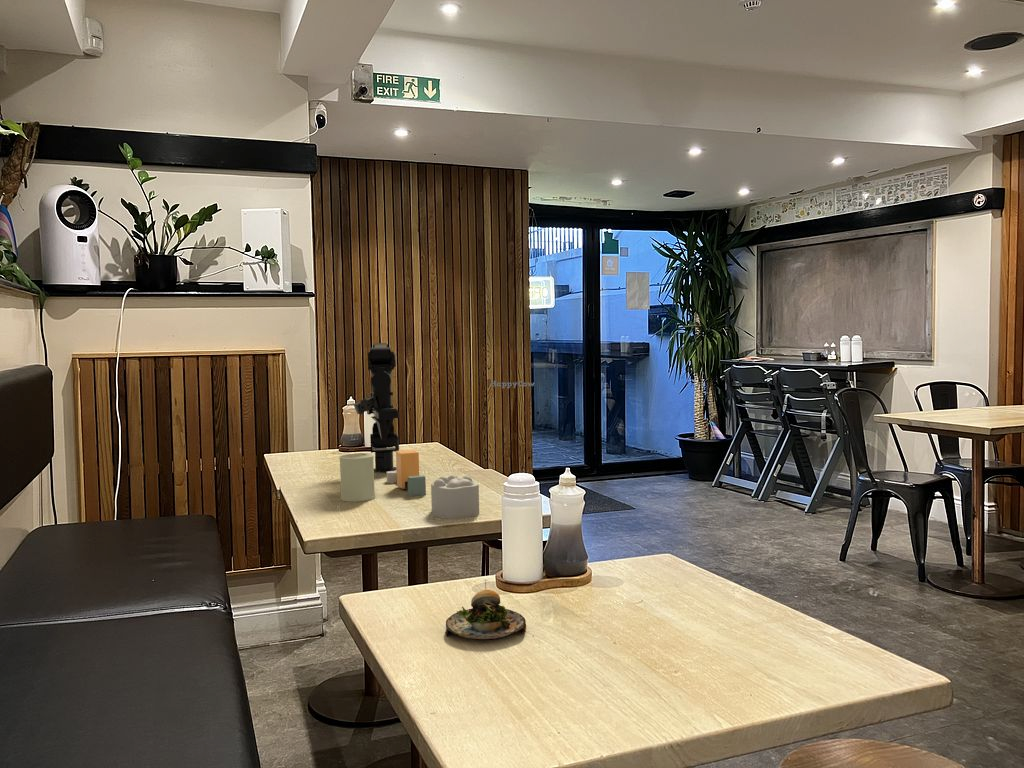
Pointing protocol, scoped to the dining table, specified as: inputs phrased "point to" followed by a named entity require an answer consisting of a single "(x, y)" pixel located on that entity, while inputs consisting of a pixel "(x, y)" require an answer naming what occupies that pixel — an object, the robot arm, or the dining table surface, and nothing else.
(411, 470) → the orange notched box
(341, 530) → the dining table surface
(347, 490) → the can
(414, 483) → the toy mallet
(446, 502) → the lumpy-topped squat cylinder
